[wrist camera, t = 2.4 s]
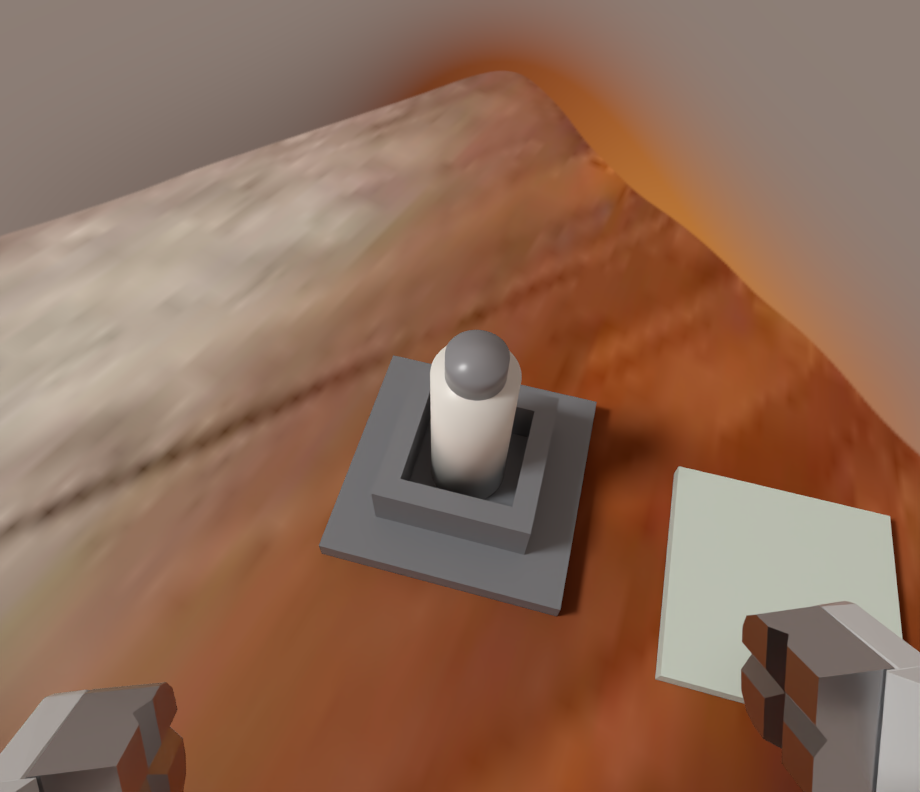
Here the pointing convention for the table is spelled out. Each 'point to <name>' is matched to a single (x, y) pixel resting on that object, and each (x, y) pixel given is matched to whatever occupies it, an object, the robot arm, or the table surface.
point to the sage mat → (759, 571)
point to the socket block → (465, 498)
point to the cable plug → (472, 412)
